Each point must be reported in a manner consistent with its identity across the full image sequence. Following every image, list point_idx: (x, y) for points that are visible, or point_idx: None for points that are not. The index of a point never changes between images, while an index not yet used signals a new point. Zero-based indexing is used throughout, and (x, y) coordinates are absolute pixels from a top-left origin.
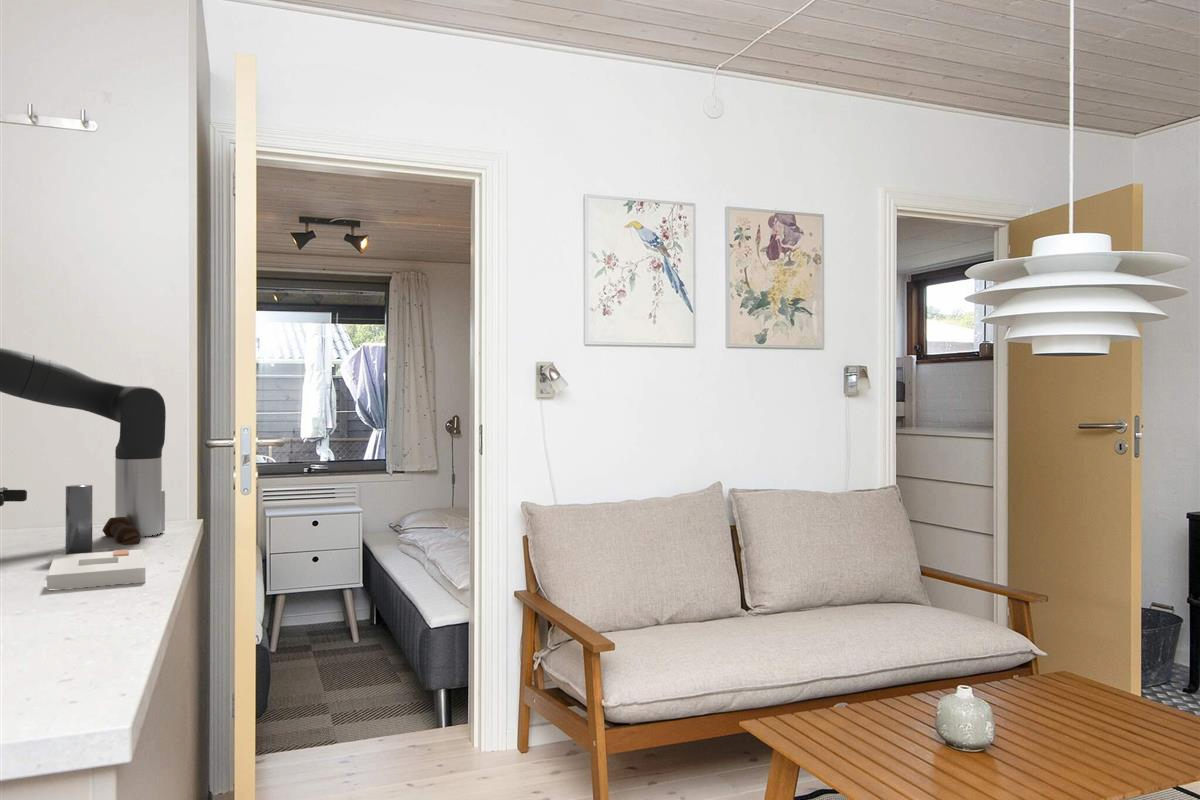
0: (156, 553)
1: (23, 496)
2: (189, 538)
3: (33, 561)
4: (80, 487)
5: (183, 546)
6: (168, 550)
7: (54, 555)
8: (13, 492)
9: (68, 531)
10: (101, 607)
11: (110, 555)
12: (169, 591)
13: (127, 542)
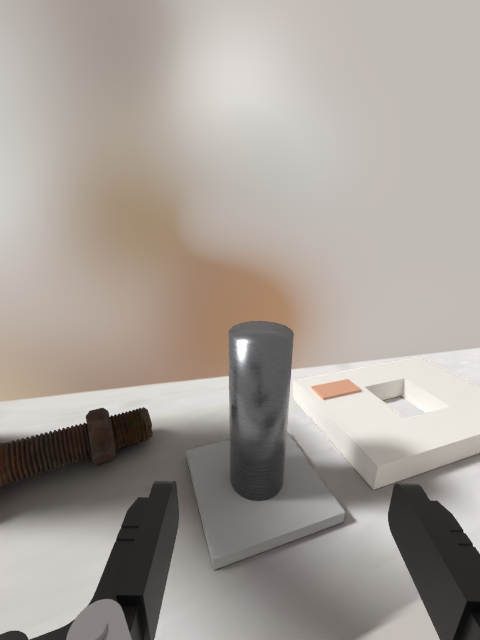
0: (211, 400)
1: (176, 507)
2: (65, 395)
3: (277, 592)
4: (287, 328)
5: (153, 387)
6: (186, 394)
7: (273, 522)
8: (159, 543)
9: (283, 442)
10: None
11: (354, 396)
12: (442, 353)
13: (151, 430)
